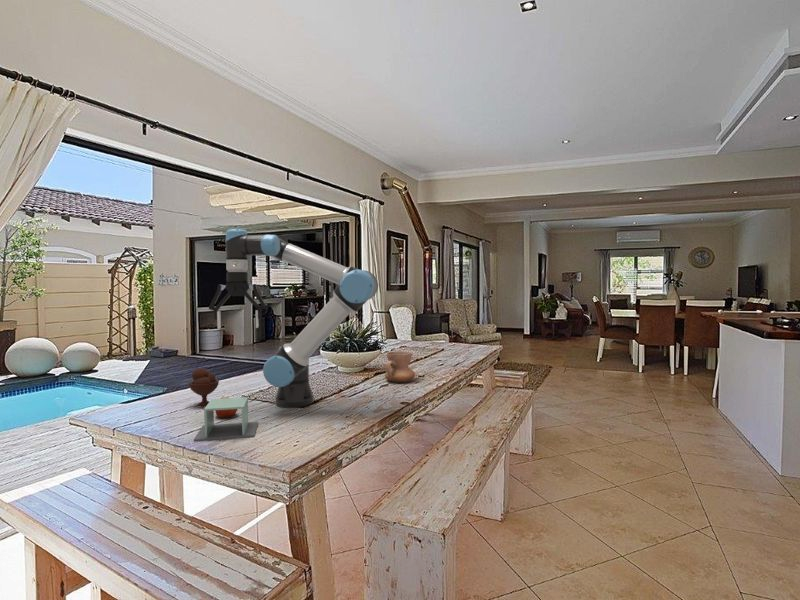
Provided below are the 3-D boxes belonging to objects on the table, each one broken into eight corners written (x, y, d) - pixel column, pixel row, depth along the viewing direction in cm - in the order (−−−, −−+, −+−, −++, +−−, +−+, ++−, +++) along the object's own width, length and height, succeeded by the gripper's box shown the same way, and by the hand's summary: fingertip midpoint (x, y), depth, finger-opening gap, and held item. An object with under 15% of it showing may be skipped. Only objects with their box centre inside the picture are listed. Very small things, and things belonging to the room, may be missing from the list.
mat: (258, 423, 162) (258, 421, 162) (254, 437, 149) (254, 435, 149) (202, 427, 159) (202, 425, 158) (193, 441, 145) (193, 439, 145)
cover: (248, 423, 161) (247, 397, 160) (244, 434, 149) (243, 406, 148) (212, 425, 158) (211, 399, 158) (204, 437, 146) (204, 409, 146)
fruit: (213, 410, 174) (224, 391, 174) (232, 420, 175) (243, 401, 175) (206, 416, 166) (217, 397, 166) (226, 427, 167) (237, 408, 167)
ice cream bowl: (209, 409, 180) (208, 371, 179) (183, 408, 182) (182, 370, 181) (224, 402, 190) (224, 365, 189) (200, 401, 192) (199, 364, 191)
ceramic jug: (400, 376, 238) (399, 348, 237) (422, 379, 229) (421, 351, 228) (375, 383, 225) (374, 353, 224) (398, 387, 215) (397, 356, 214)
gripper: (199, 271, 168) (200, 330, 169) (271, 271, 173) (272, 328, 174) (203, 271, 176) (205, 327, 177) (272, 271, 181) (273, 326, 182)
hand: (238, 328), depth 176 cm, fingers open, 13 cm apart
